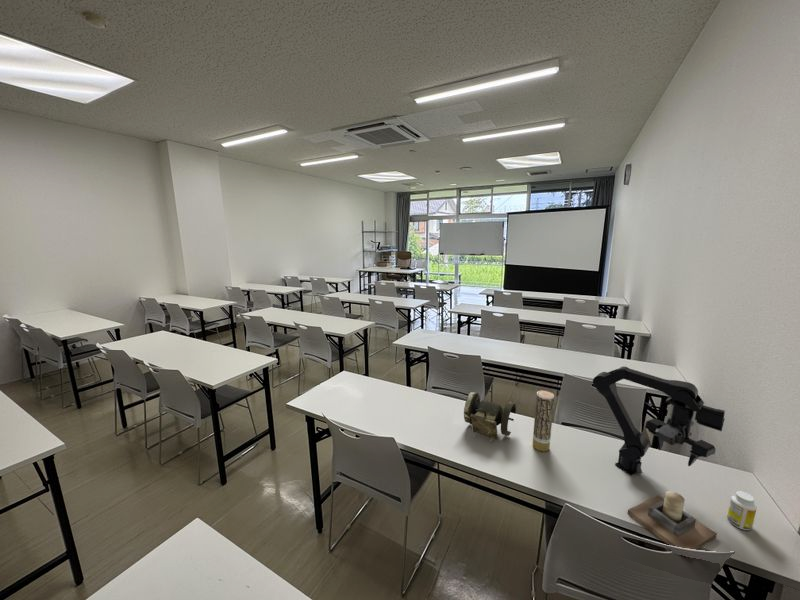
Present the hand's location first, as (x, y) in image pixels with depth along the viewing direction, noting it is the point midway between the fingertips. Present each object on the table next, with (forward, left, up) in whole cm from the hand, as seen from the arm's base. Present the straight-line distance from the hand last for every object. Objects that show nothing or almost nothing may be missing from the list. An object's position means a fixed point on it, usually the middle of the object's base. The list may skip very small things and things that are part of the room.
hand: (674, 457), depth 115 cm
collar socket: (+10, -18, -12) cm, 24 cm away
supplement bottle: (+18, +3, -12) cm, 22 cm away
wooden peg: (+10, -18, -10) cm, 23 cm away
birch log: (-35, -26, -12) cm, 45 cm away
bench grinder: (-53, -41, -12) cm, 68 cm away
